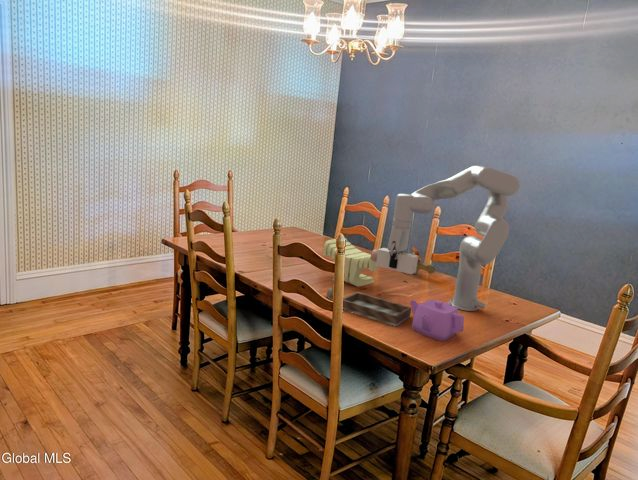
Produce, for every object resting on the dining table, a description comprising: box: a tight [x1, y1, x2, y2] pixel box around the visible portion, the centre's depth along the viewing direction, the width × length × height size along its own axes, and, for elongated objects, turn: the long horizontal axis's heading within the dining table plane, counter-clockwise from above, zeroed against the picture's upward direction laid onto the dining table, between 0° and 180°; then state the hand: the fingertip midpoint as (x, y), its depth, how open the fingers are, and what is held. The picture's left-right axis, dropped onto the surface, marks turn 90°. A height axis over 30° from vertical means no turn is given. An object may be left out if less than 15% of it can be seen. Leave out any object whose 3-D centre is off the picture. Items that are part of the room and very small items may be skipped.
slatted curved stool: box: [322, 237, 379, 287], centre depth 233 cm, size 30×16×18 cm, turn 47°
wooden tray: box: [342, 291, 412, 327], centre depth 194 cm, size 25×14×4 cm, turn 56°
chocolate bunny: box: [325, 277, 335, 300], centre depth 206 cm, size 6×8×10 cm
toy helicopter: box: [408, 246, 436, 275], centre depth 254 cm, size 8×21×14 cm, turn 38°
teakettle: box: [409, 299, 465, 342], centre depth 180 cm, size 17×17×12 cm
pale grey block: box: [370, 247, 418, 275], centre depth 201 cm, size 19×5×7 cm, turn 57°
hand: (395, 266), depth 200 cm, fingers closed on pale grey block, 5 cm apart
